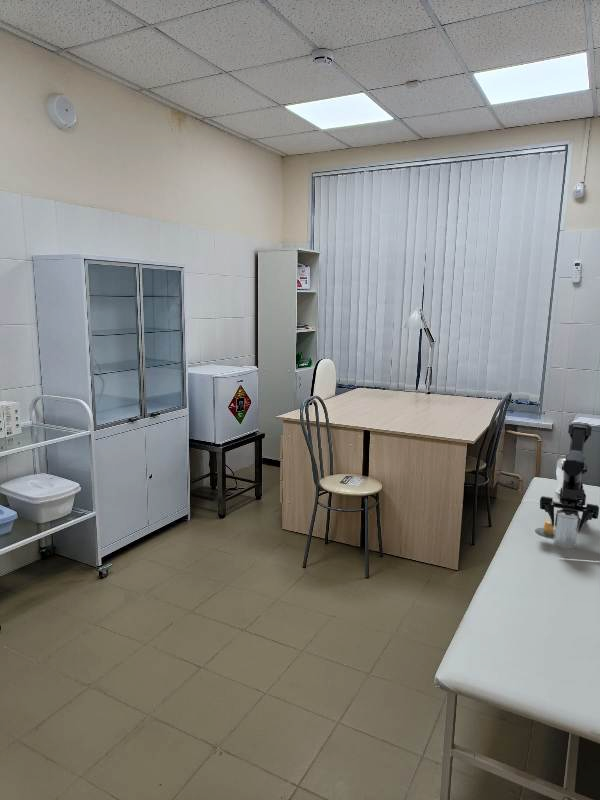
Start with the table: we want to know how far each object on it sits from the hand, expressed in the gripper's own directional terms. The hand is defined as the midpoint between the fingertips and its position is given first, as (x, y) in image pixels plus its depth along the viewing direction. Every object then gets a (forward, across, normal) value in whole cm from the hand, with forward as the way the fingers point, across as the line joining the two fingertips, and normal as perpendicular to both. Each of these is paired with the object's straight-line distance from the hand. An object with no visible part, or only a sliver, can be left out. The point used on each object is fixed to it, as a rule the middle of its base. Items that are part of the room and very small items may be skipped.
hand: (565, 529), depth 192 cm
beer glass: (-38, -4, +48) cm, 61 cm away
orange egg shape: (-2, -6, +11) cm, 12 cm away
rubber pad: (-2, -6, +11) cm, 12 cm away
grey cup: (+4, 0, +6) cm, 7 cm away
